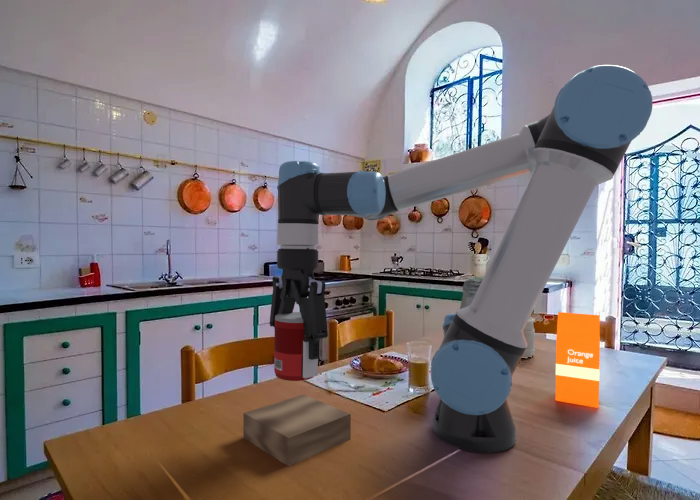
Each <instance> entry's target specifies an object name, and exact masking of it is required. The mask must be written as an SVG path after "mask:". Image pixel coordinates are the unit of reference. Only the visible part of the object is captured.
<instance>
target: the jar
mask: <svg viewBox="0 0 700 500" xmlns="http://www.w3.org/2000/svg"><path fill="white" fill-rule="evenodd" d="M532 314H533V312H532V313H531V315H530V317H529V319H528V321H527V323H526V325H525V327H524V329H523V334H524V336H525V339H526V342H527V347H526V349H525V351H524V353H523V355H522V357H530V356H533V355H535V332H536V329H535V328H534V323H535V322H536V319H535V318H534V317H533V316H532ZM533 357H534V356H533Z"/></svg>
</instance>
